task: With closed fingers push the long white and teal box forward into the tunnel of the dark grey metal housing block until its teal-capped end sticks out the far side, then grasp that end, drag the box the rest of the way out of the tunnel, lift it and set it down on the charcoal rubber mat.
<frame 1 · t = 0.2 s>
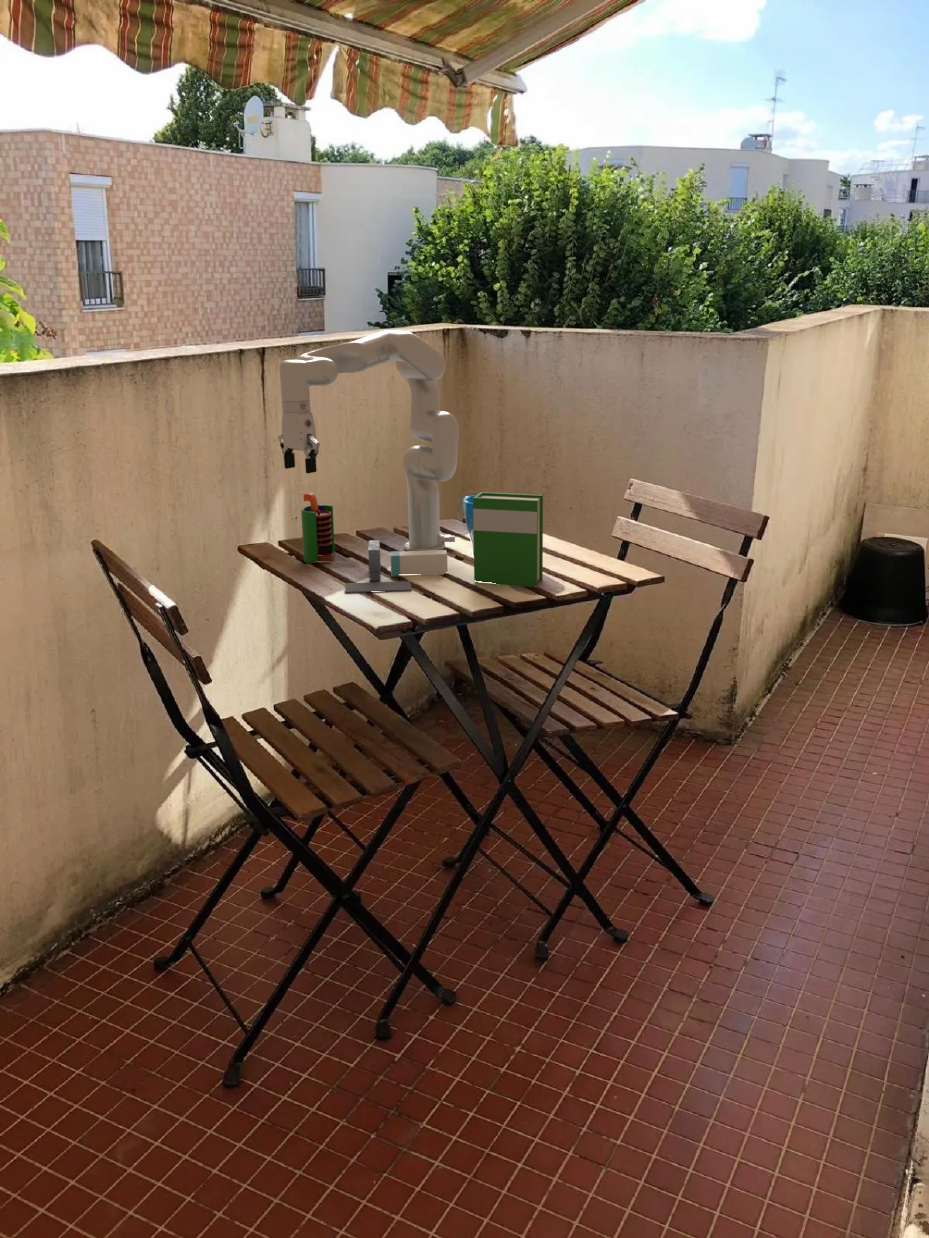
hand: (300, 470, 300), 31 cm above the table, tool pointing down, fingers open, 9 cm apart
white and teal box: (419, 573, 314), on the table
hardback book: (508, 581, 305), on the table
motor: (319, 560, 329), on the table
mat: (378, 587, 301), on the table
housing: (375, 574, 313), on the table
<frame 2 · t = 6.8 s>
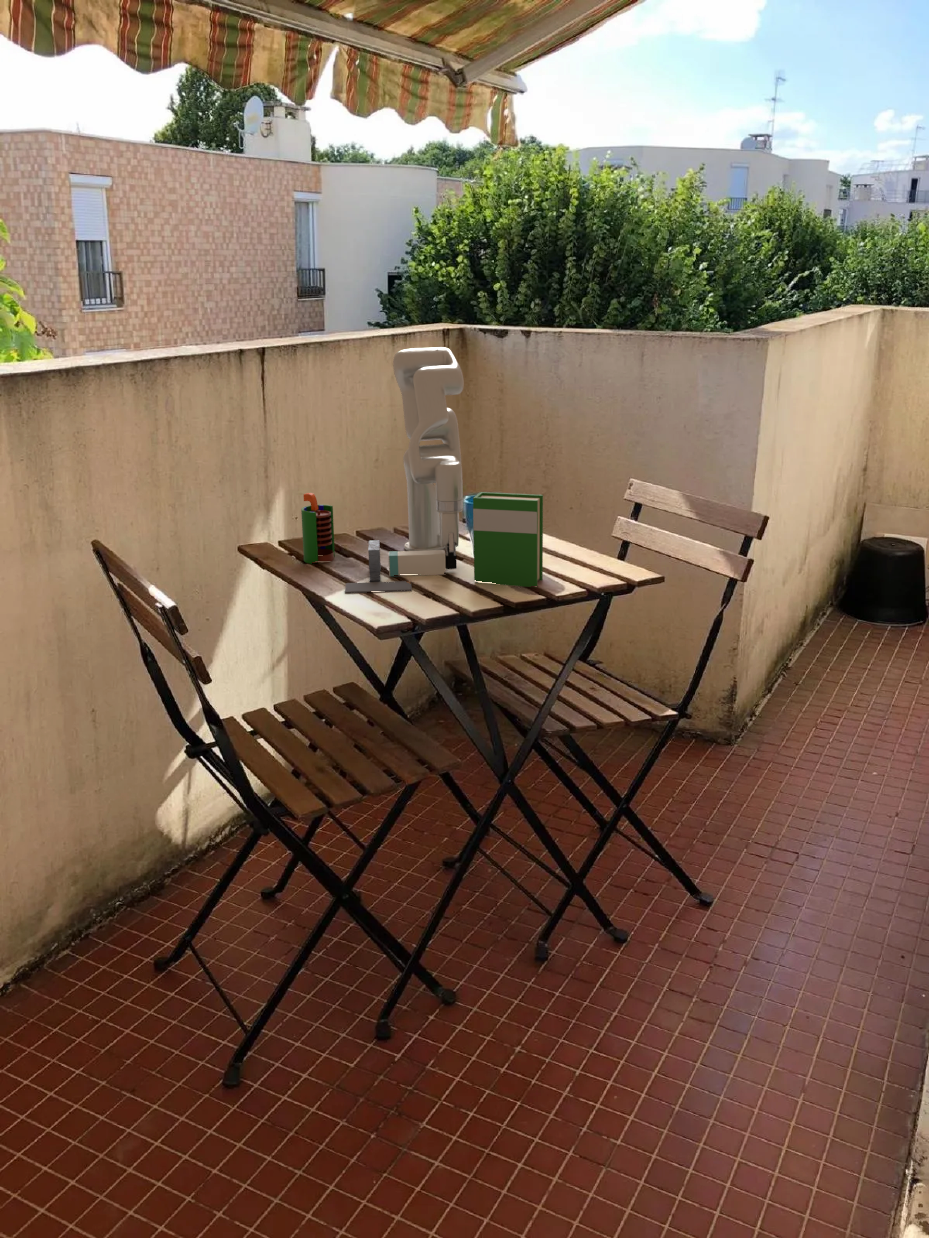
hand: (450, 568, 314), 1 cm above the table, tool pointing down, fingers closed
nothing on the table moved.
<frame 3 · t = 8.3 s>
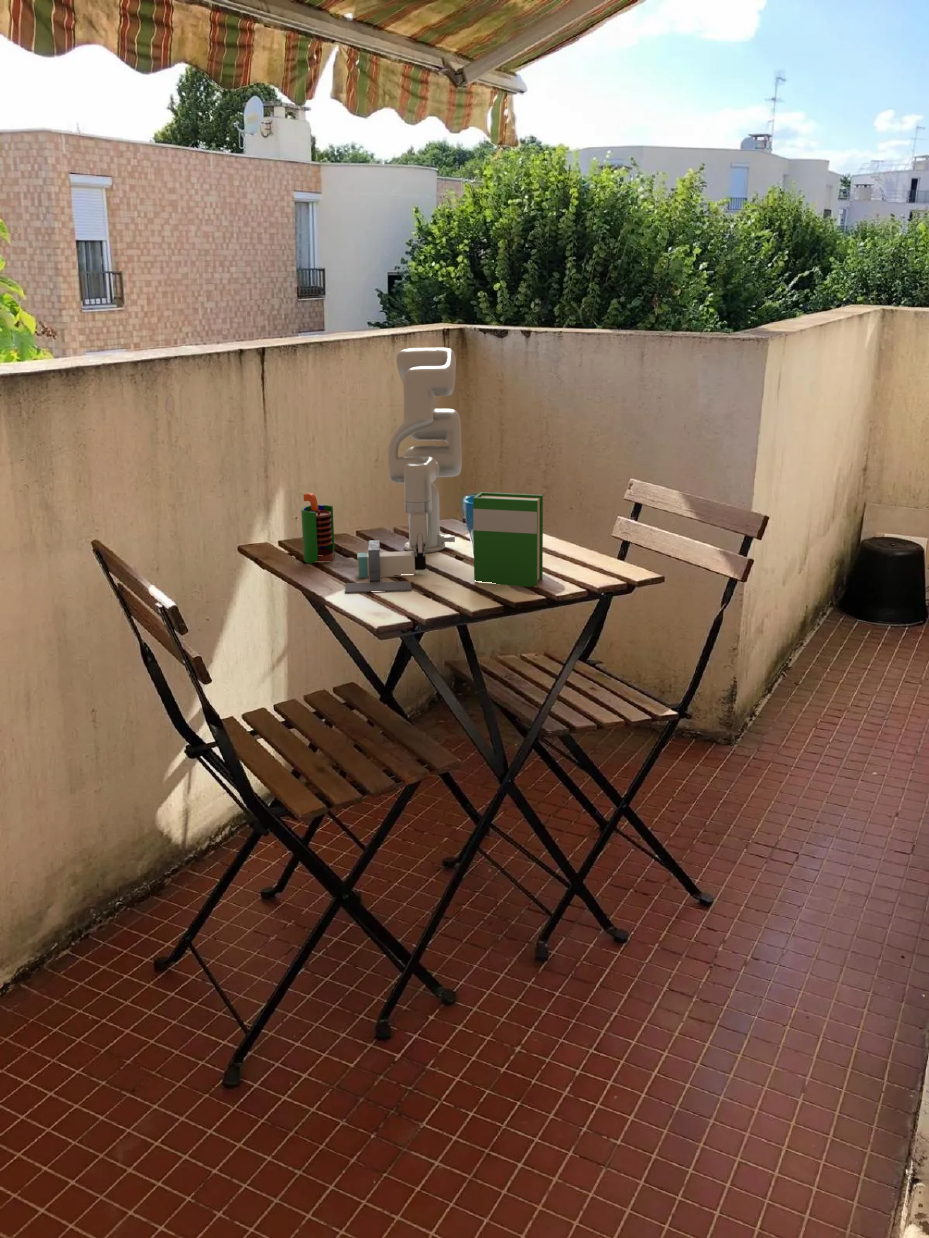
hand: (420, 569, 314), 1 cm above the table, tool pointing down, fingers closed
white and teal box: (386, 574, 313), on the table, touching gripper
everything else where it was.
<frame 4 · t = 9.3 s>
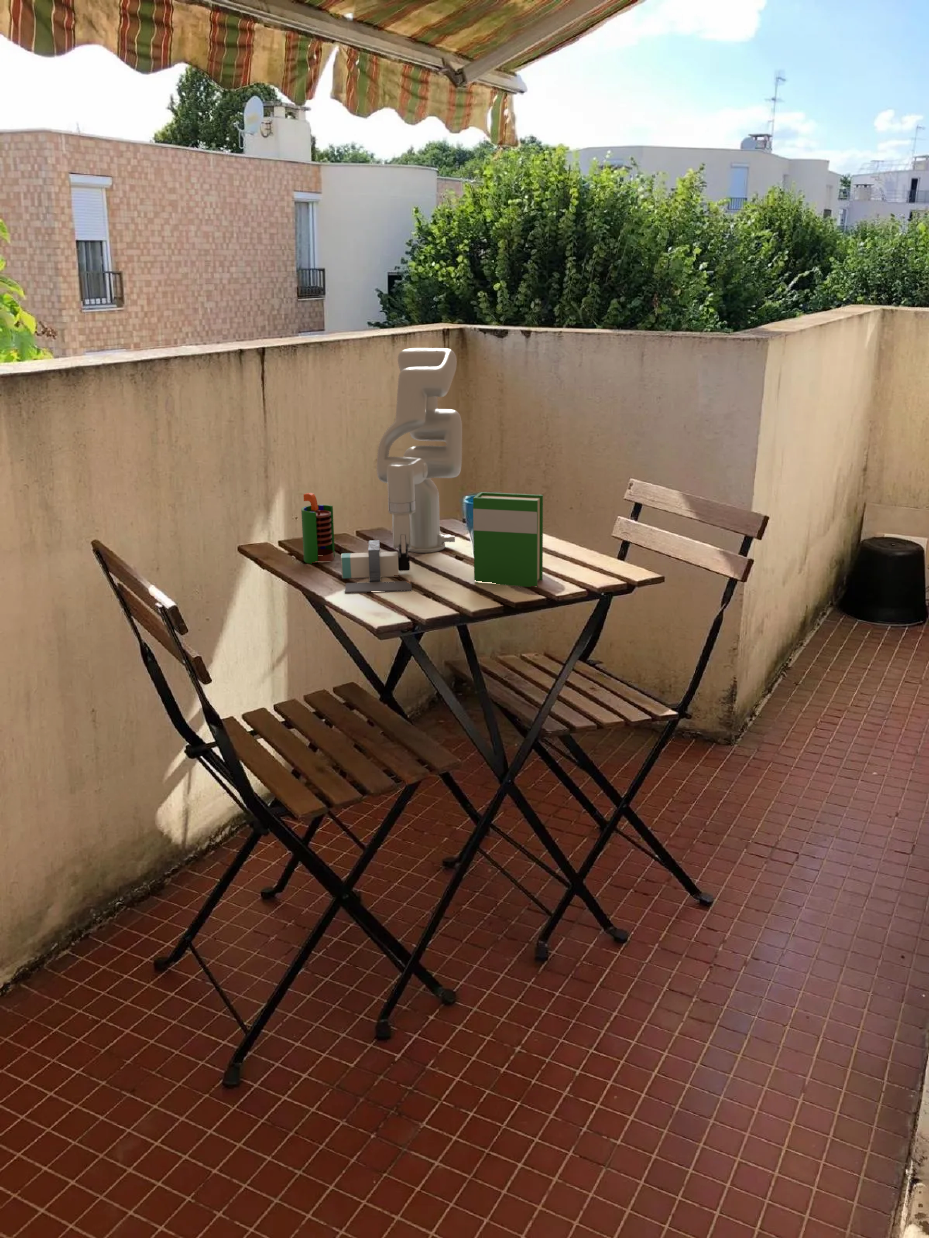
hand: (404, 569, 313), 1 cm above the table, tool pointing down, fingers closed
white and teal box: (370, 575, 313), on the table
everything else where it was.
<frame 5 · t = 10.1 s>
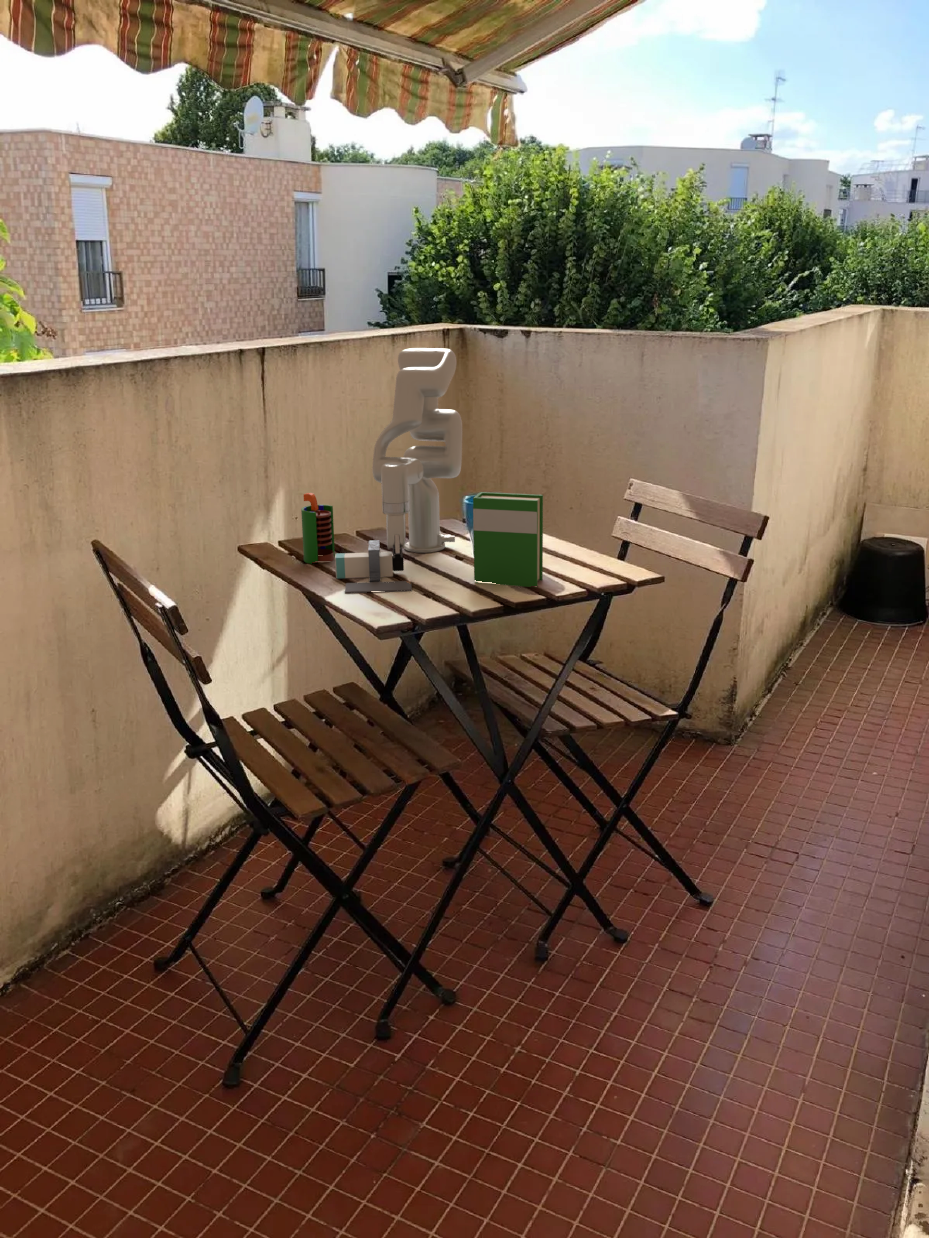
hand: (398, 570, 313), 1 cm above the table, tool pointing down, fingers closed
white and teal box: (364, 575, 313), on the table, touching gripper
everything else where it was.
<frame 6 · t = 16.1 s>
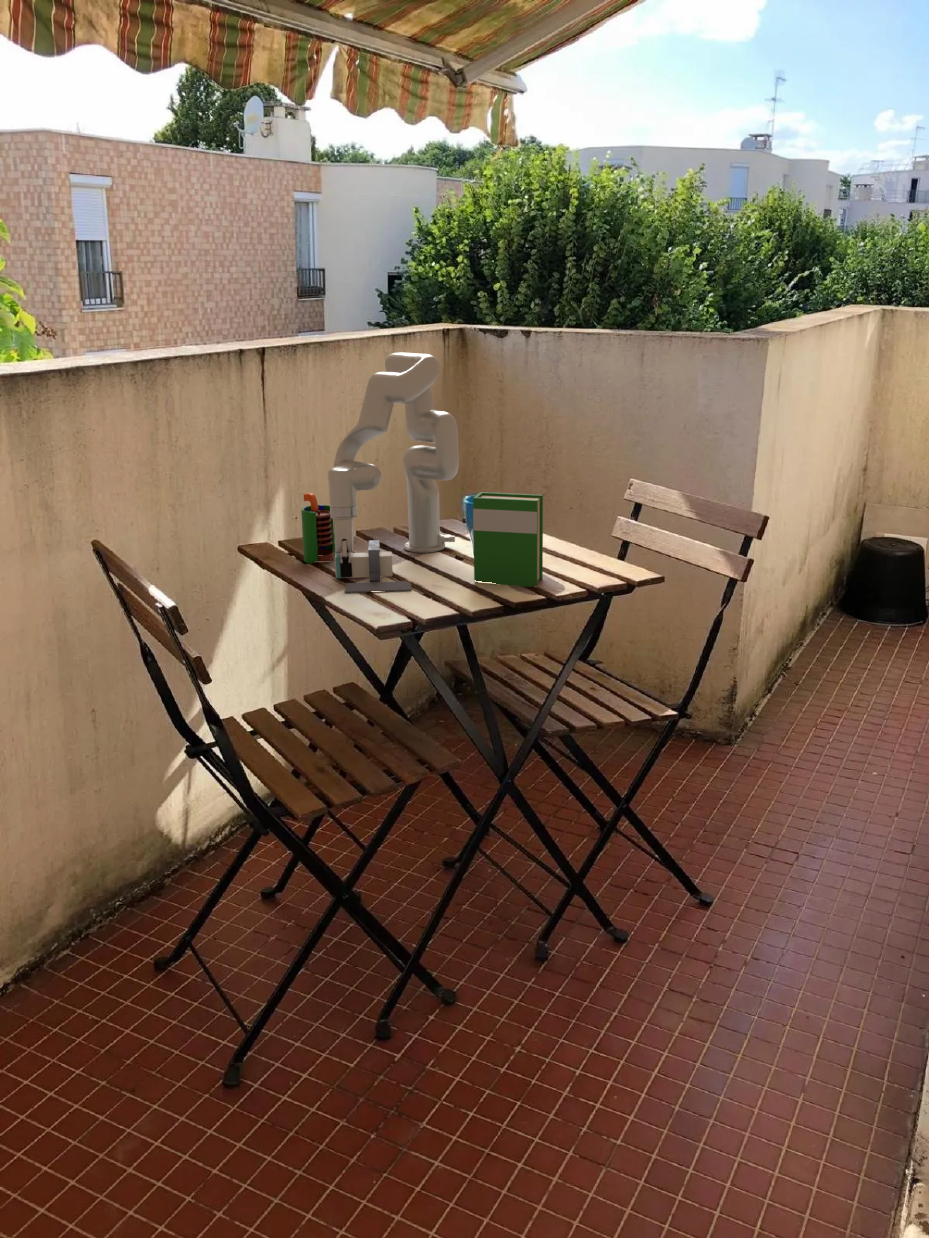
hand: (346, 573, 313), 1 cm above the table, tool pointing down, fingers closed on white and teal box, 4 cm apart
white and teal box: (364, 575, 313), on the table, touching gripper
everything else where it was.
when the fingers open (2 cm above the table, at t = 24.2 s): white and teal box drops 1 cm, resting on mat.
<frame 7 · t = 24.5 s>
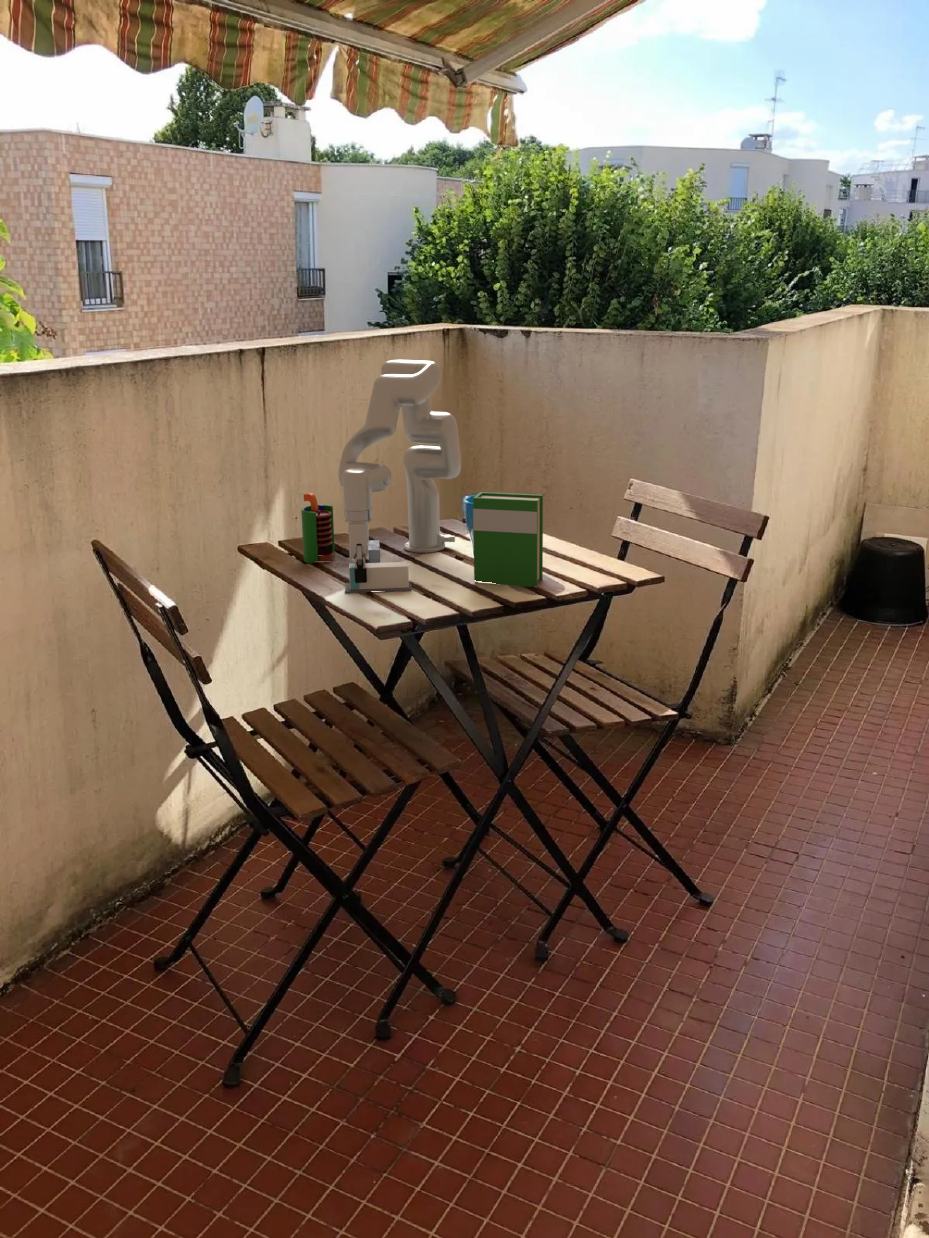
hand: (361, 577, 300), 3 cm above the table, tool pointing down, fingers open, 7 cm apart
white and teal box: (379, 586, 301), resting on mat
everything else where it was.
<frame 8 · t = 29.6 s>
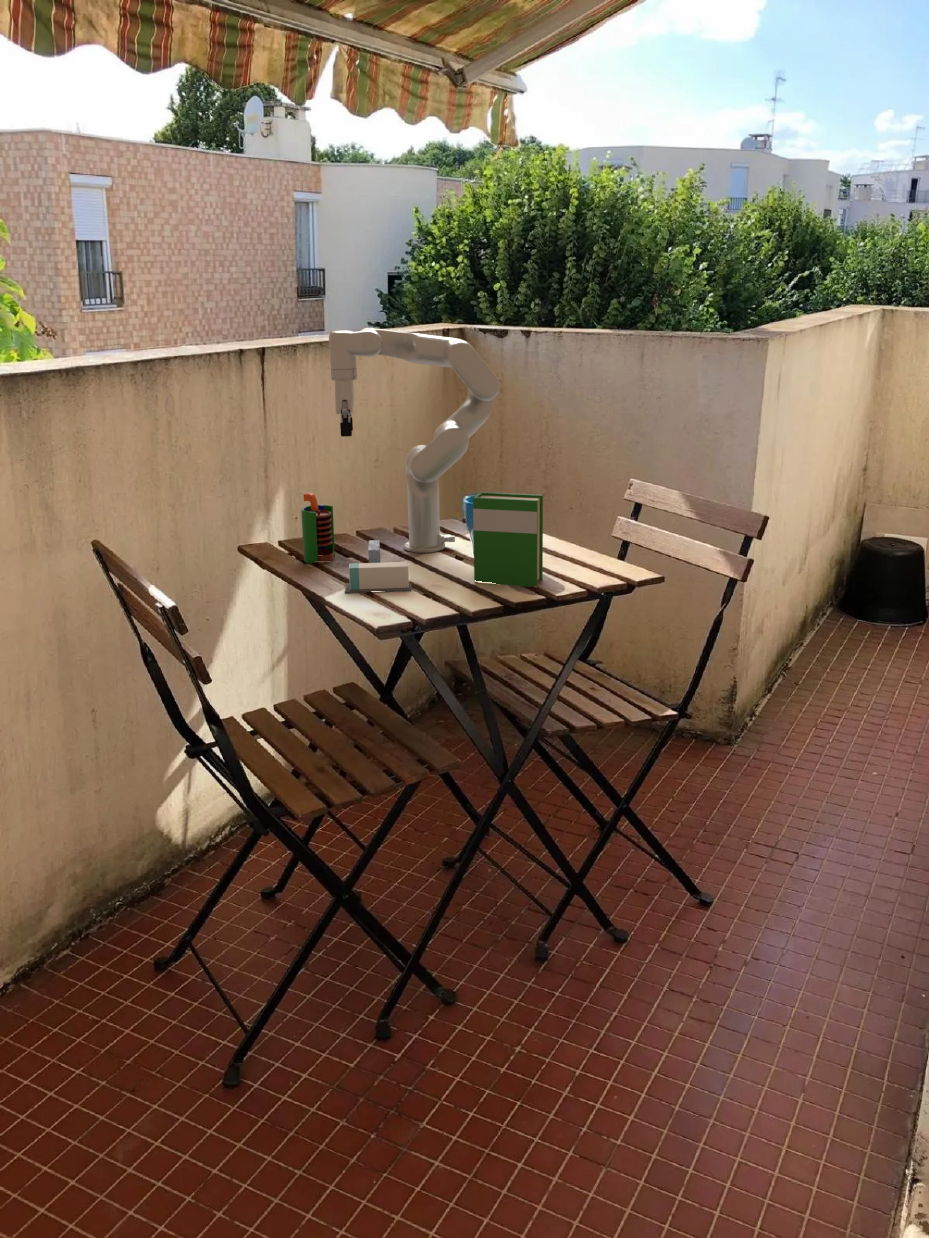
hand: (347, 433, 325), 36 cm above the table, tool pointing down, fingers open, 9 cm apart
nothing on the table moved.
at the end: white and teal box inside the target area (1.0 cm from its centre), point 0.5 cm above the table; the gripper is holding nothing; white and teal box moved 17.1 cm from its start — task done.
